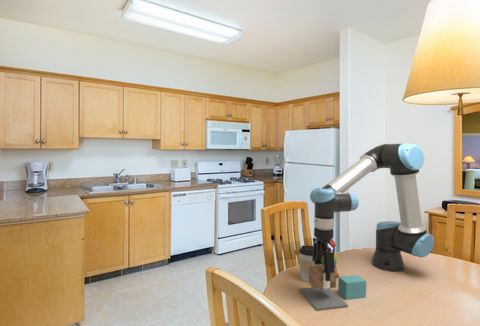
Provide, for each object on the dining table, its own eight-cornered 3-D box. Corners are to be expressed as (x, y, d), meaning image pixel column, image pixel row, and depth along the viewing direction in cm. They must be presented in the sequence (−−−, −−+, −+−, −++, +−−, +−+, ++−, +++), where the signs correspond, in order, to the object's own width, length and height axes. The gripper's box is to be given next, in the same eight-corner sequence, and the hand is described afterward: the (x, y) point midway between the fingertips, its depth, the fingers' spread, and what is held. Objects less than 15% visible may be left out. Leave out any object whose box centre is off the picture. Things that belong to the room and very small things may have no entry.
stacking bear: (339, 278, 135) (340, 241, 134) (317, 276, 137) (317, 239, 136) (336, 269, 146) (337, 234, 145) (315, 267, 148) (316, 233, 147)
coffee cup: (320, 277, 136) (321, 246, 136) (314, 284, 129) (314, 251, 128) (302, 272, 141) (303, 242, 141) (295, 279, 134) (295, 247, 133)
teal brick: (356, 290, 124) (357, 274, 123) (365, 297, 118) (366, 281, 117) (338, 292, 122) (338, 276, 121) (346, 300, 116) (346, 283, 116)
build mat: (326, 287, 126) (326, 285, 126) (347, 307, 110) (347, 305, 110) (299, 290, 123) (299, 288, 123) (316, 310, 108) (316, 308, 108)
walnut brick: (328, 280, 120) (328, 264, 120) (336, 287, 115) (336, 270, 114) (308, 282, 118) (308, 265, 118) (315, 289, 113) (315, 271, 112)
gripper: (304, 222, 124) (303, 274, 125) (327, 234, 105) (325, 296, 106) (320, 221, 126) (319, 273, 127) (345, 233, 107) (343, 294, 108)
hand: (322, 284), depth 117 cm, fingers closed on walnut brick, 6 cm apart
